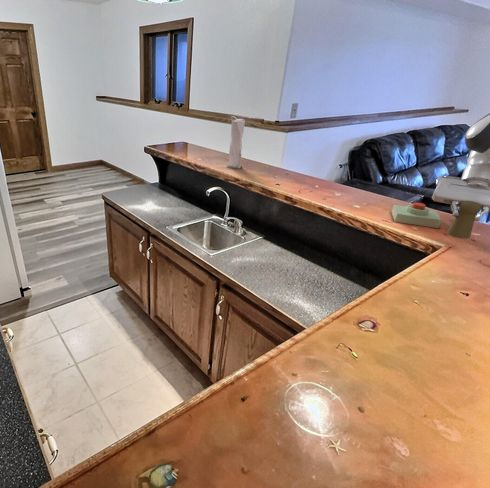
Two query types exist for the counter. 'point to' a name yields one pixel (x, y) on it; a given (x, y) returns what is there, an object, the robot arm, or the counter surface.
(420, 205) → the release button
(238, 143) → the skyscraper
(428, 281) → the counter surface
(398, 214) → the button base
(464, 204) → the cork
